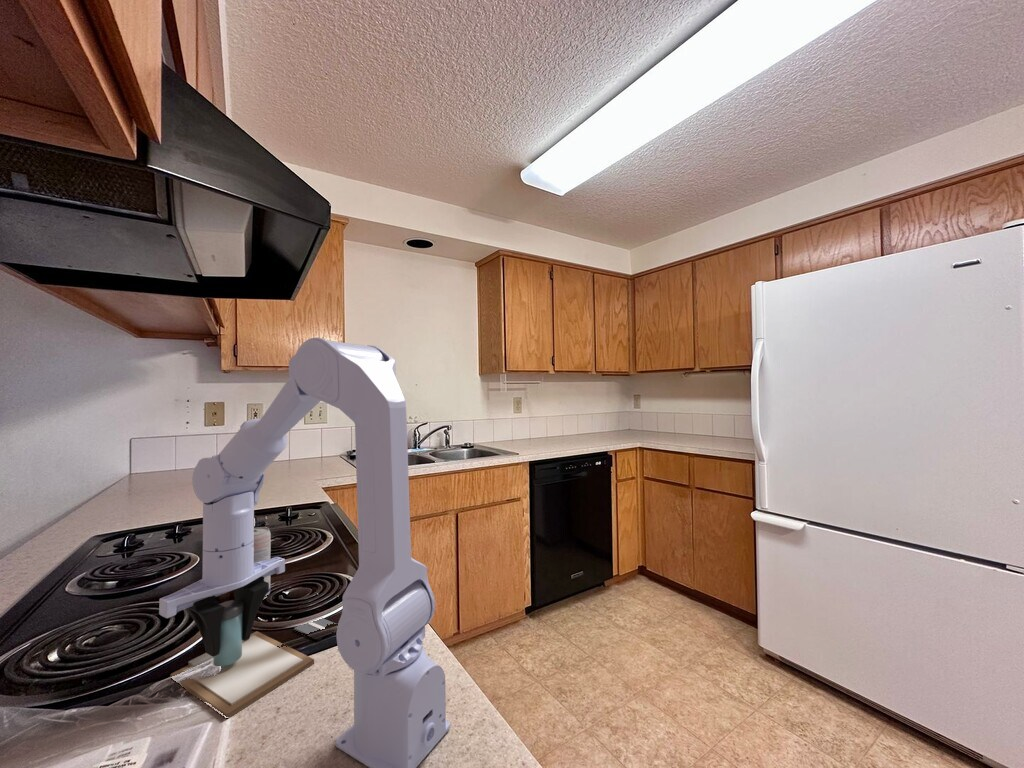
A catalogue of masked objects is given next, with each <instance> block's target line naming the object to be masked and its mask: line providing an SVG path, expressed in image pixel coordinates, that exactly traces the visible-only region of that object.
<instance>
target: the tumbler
mask: <svg viewBox="0 0 1024 768" xmlns="http://www.w3.org/2000/svg"><path fill="white" fill-rule="evenodd" d="M219 604H220V605H222V606H224V607H225V608H224V611H223V615H222V620H221V627H220V652H219V654H218V655H216V656H214V657H213V664H214V665H215V666H226V665H229V664H232V663H234V662H236V661H237V660H238V659H240V658H241V656H242V612H243V601H242V600H235V599H231V600H227V601H224V602H221V603H219Z"/></svg>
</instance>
